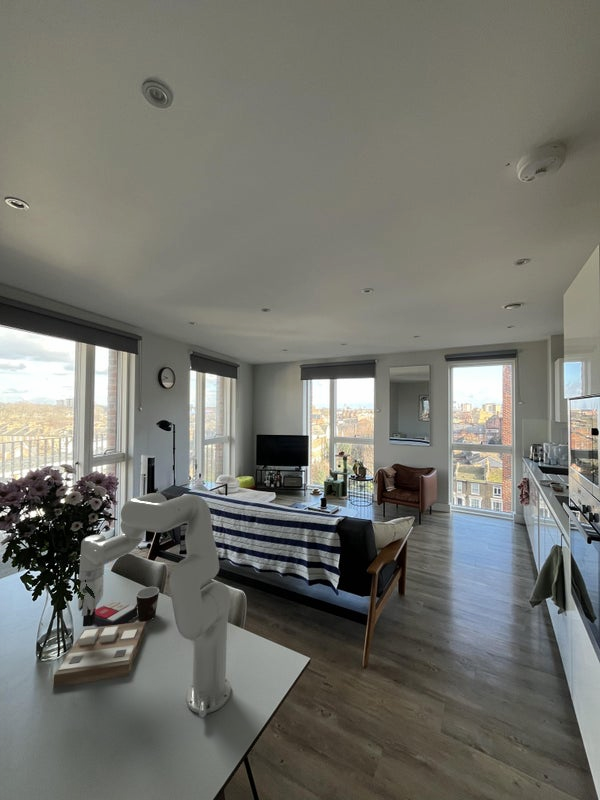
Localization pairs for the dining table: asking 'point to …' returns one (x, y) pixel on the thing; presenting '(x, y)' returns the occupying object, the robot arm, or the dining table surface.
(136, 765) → the dining table surface
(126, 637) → the button
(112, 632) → the button
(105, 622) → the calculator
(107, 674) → the board
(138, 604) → the coffee mug
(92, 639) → the button
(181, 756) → the dining table surface
